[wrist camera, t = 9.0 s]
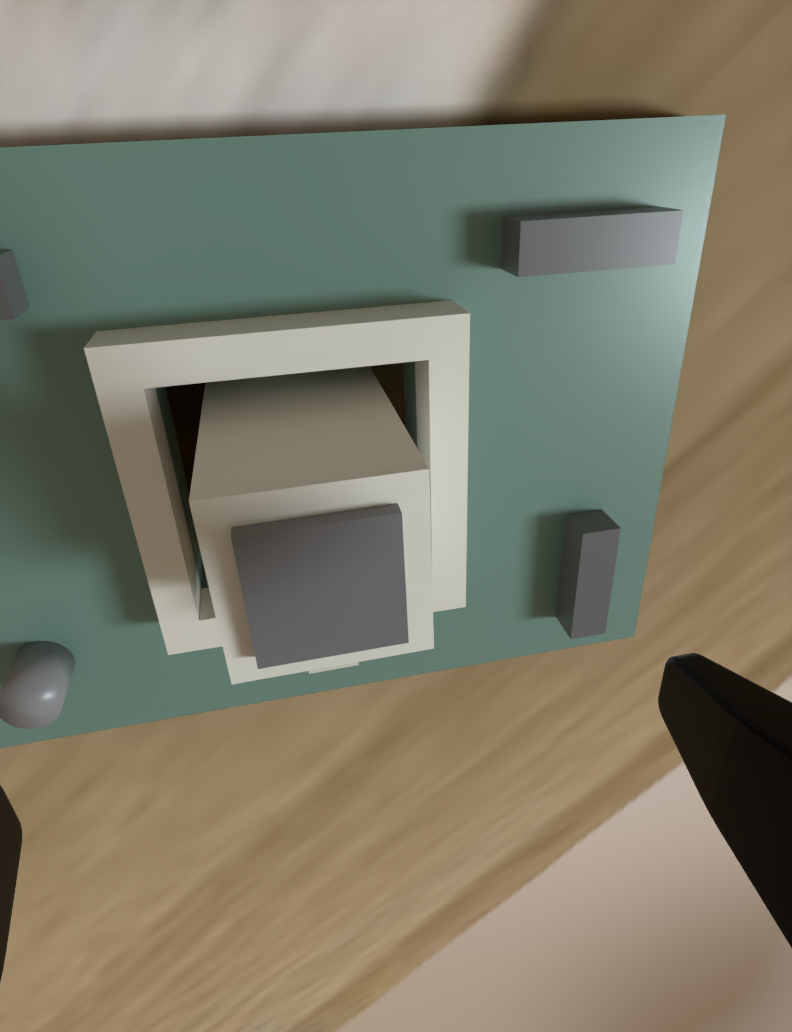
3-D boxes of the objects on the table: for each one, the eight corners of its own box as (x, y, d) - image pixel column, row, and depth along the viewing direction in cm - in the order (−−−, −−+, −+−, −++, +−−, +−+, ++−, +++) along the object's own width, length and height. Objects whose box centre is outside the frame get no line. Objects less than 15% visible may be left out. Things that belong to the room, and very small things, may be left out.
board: (687, 116, 17) (778, 111, 14) (612, 609, 25) (661, 670, 22) (-279, 160, 14) (-416, 165, 11) (-13, 714, 22) (-51, 803, 19)
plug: (368, 363, 19) (434, 477, 12) (380, 530, 22) (439, 693, 15) (205, 382, 18) (187, 512, 12) (239, 552, 21) (239, 731, 15)
